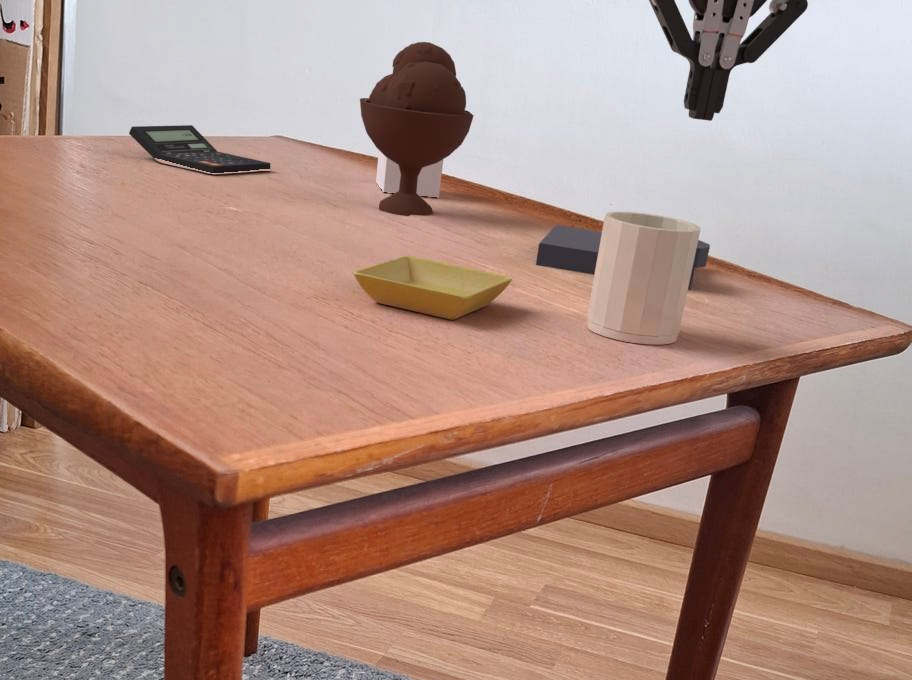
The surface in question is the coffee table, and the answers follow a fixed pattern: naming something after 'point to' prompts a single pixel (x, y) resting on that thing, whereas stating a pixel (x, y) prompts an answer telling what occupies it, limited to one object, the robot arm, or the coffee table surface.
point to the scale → (587, 250)
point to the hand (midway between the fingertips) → (700, 118)
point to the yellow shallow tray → (430, 286)
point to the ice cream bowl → (416, 119)
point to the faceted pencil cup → (642, 277)
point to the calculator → (190, 149)
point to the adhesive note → (391, 177)
